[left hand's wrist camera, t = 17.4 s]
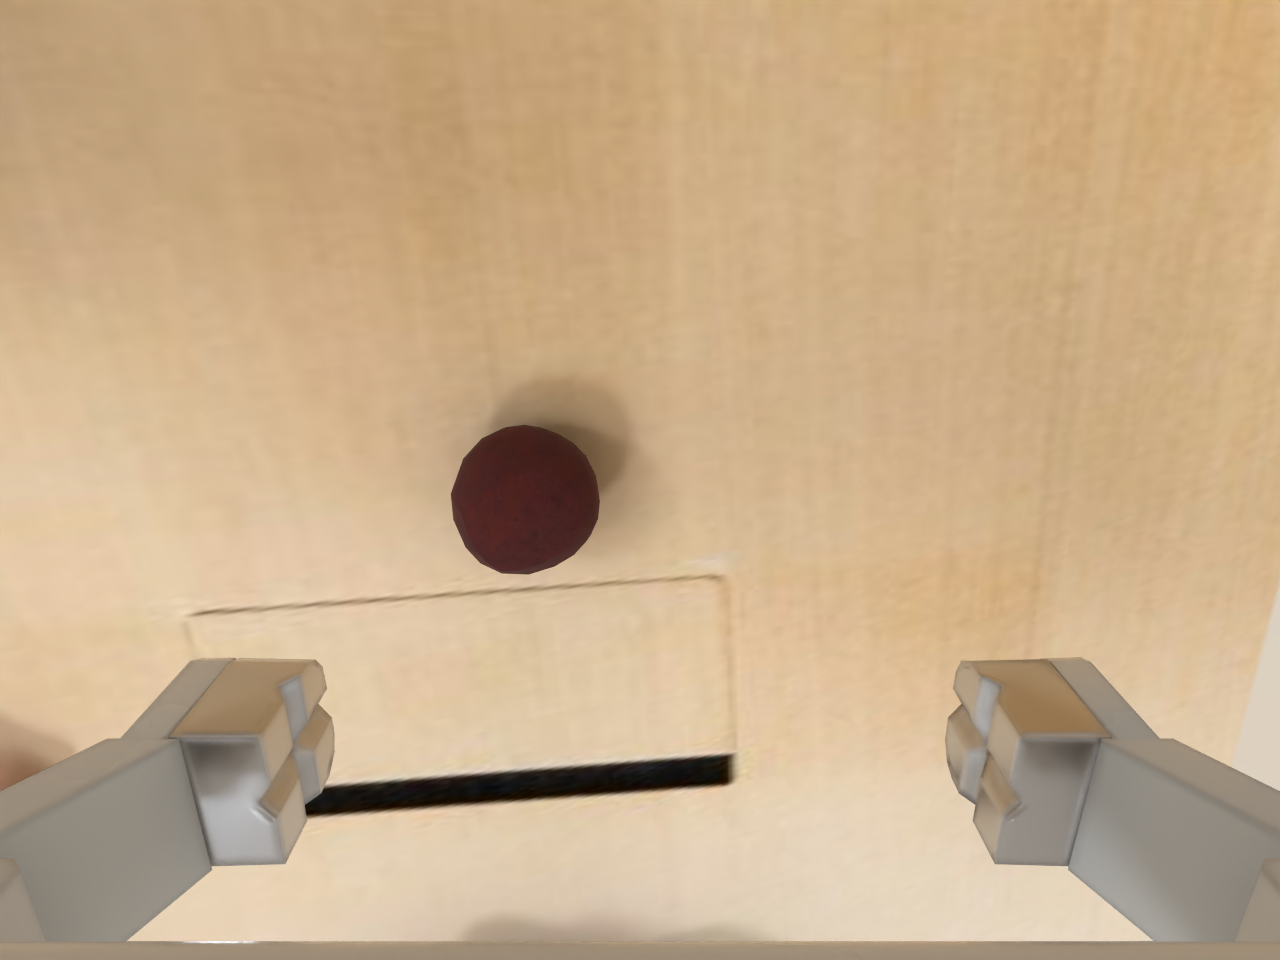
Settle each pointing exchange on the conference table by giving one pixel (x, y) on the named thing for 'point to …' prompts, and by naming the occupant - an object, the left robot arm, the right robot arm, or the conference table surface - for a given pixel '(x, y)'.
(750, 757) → the conference table surface
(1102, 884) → the left robot arm
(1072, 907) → the conference table surface
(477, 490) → the dark maroon ball
